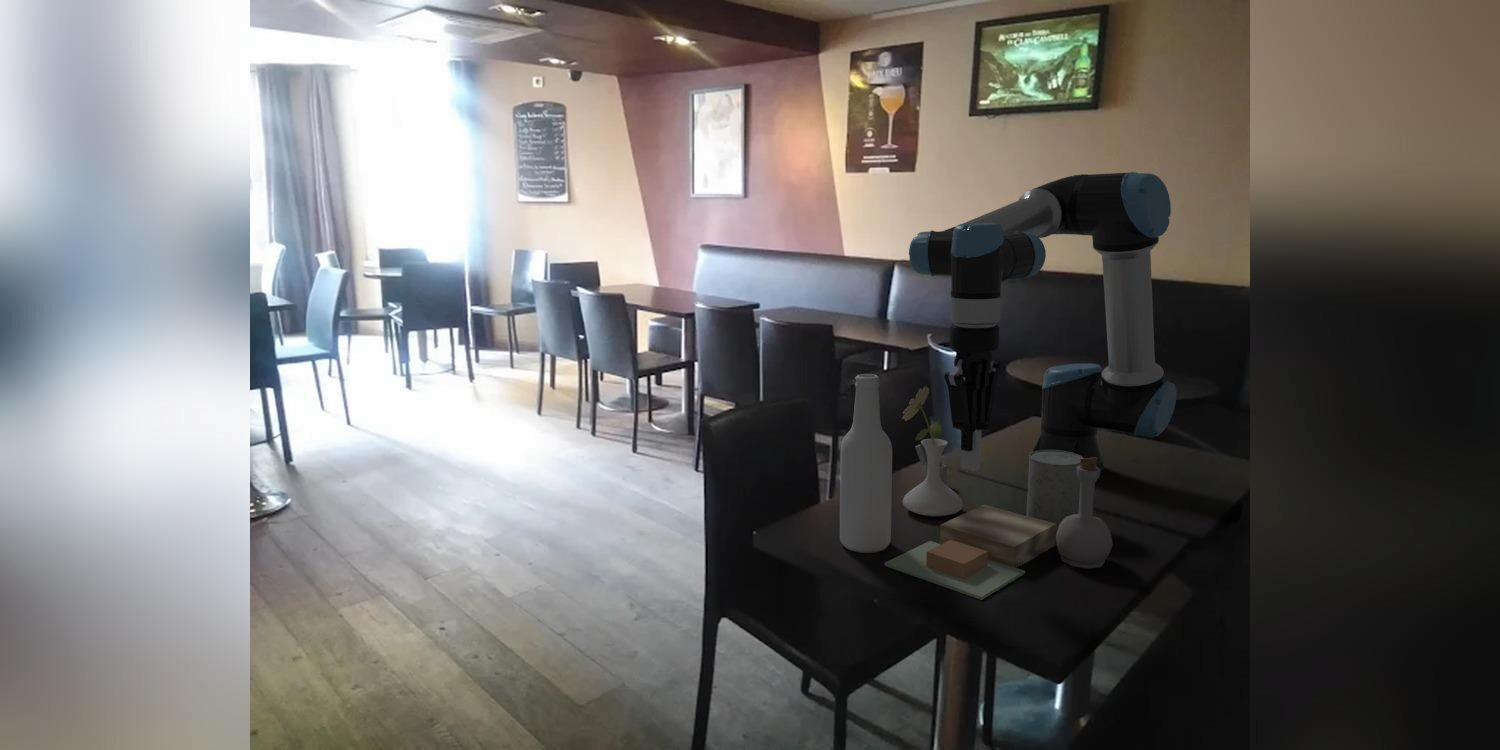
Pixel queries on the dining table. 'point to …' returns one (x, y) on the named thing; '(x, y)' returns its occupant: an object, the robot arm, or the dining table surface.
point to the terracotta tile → (957, 559)
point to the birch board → (1001, 534)
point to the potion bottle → (1084, 525)
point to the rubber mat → (972, 585)
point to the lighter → (923, 460)
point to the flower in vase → (930, 470)
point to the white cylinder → (1053, 485)
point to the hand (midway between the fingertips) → (970, 468)
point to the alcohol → (866, 474)
